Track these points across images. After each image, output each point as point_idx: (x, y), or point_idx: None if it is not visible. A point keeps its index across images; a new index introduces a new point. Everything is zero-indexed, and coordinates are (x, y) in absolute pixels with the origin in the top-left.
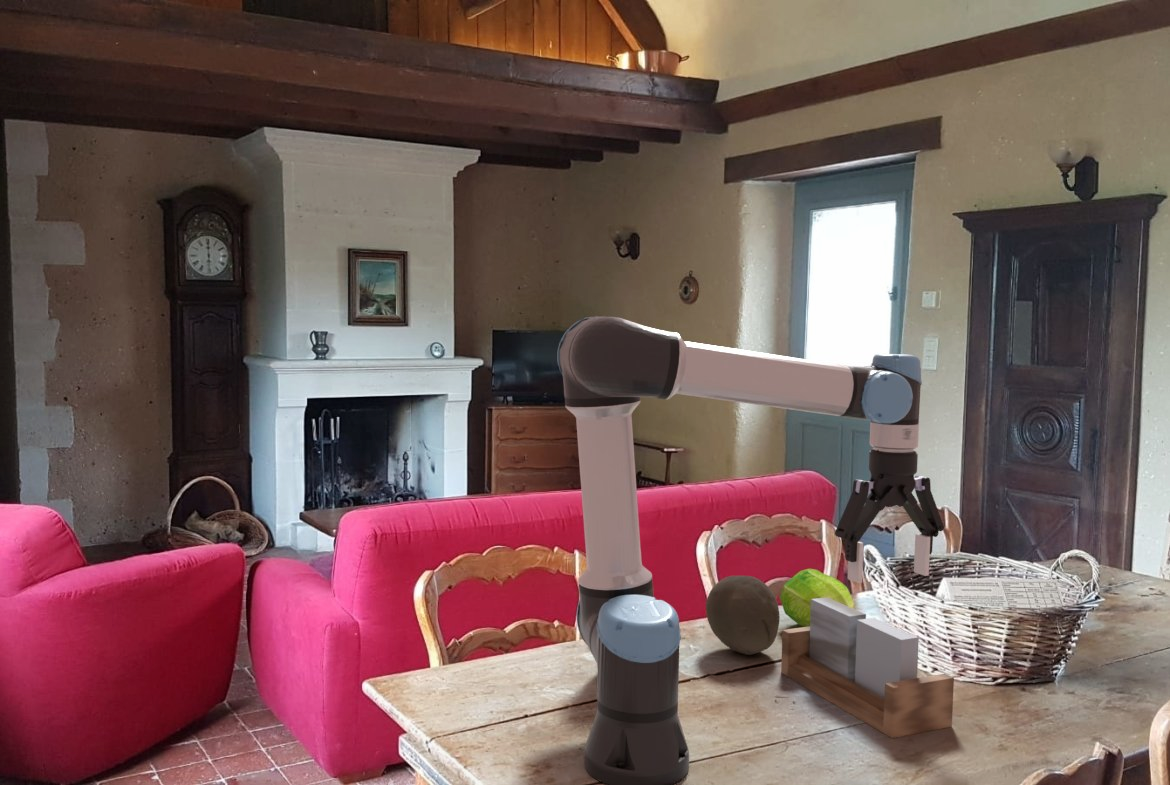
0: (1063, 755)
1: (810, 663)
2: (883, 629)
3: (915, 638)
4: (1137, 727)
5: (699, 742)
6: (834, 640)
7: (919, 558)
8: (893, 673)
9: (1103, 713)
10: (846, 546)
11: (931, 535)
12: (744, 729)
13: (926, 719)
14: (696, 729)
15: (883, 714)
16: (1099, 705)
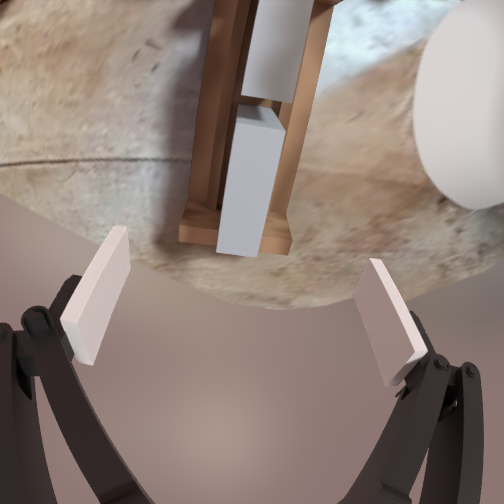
0: (309, 302)
1: (236, 12)
2: (235, 197)
3: (249, 256)
4: (413, 297)
5: (9, 133)
6: (249, 47)
7: (375, 307)
8: (222, 204)
9: (427, 271)
10: (50, 313)
11: (400, 390)
12: (54, 119)
13: None
14: (17, 103)
15: (202, 187)
16: (443, 260)
